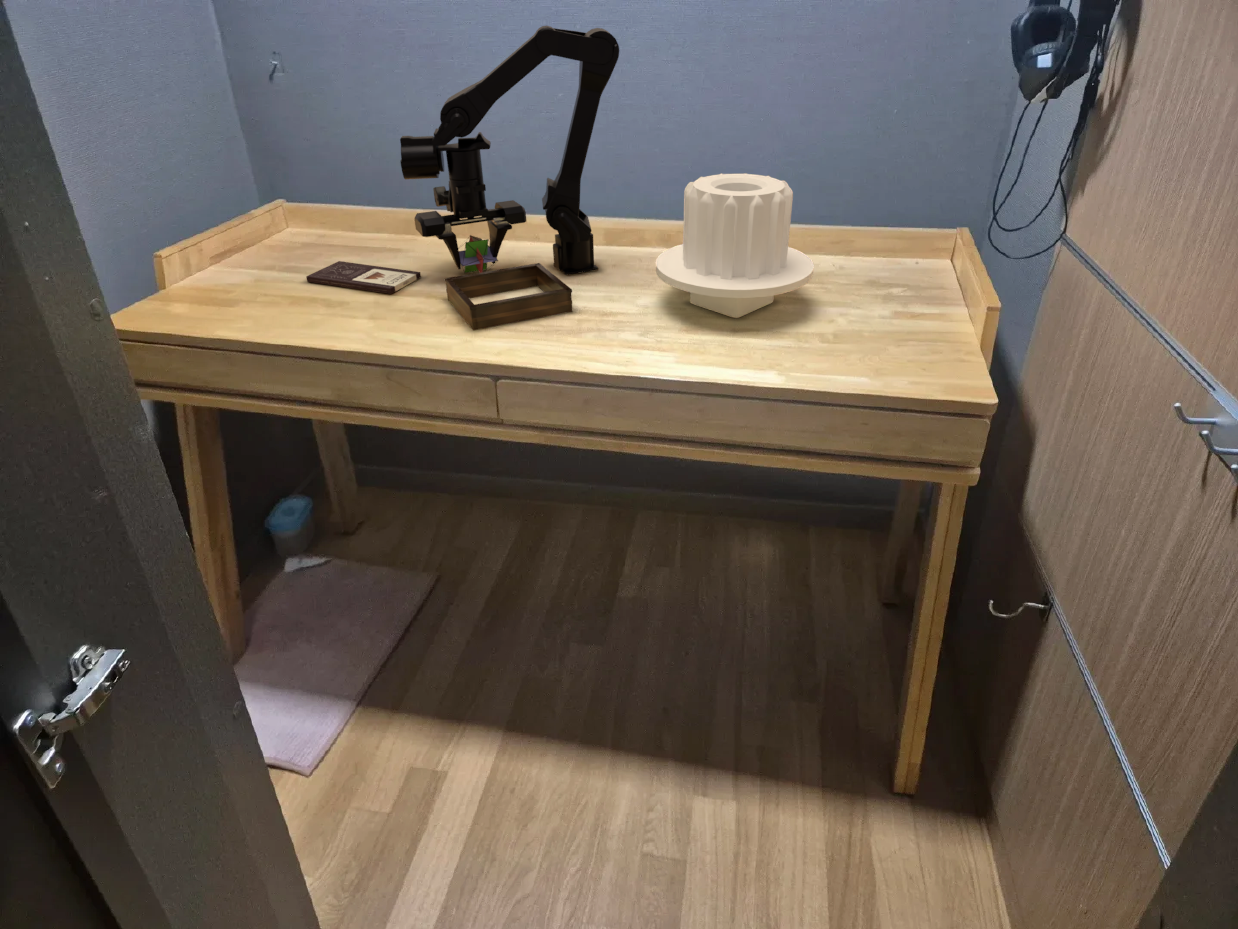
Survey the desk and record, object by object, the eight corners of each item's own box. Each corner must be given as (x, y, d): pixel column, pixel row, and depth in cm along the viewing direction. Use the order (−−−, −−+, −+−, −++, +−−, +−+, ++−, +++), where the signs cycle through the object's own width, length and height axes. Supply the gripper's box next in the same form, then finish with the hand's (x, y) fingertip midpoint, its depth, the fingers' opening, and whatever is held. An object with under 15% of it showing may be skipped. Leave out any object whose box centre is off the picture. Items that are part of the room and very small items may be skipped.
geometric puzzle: (505, 267, 144) (493, 224, 144) (468, 273, 141) (455, 229, 141) (495, 281, 150) (483, 240, 151) (460, 287, 148) (448, 245, 148)
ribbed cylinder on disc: (720, 267, 148) (726, 158, 138) (839, 301, 133) (855, 182, 123) (624, 304, 134) (622, 185, 124) (744, 347, 118) (754, 216, 108)
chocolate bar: (339, 260, 151) (420, 272, 145) (340, 265, 152) (421, 277, 146) (306, 276, 144) (389, 288, 138) (307, 281, 145) (390, 293, 139)
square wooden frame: (540, 283, 143) (539, 262, 141) (573, 311, 131) (572, 289, 129) (447, 299, 137) (444, 278, 135) (472, 330, 125) (470, 307, 123)
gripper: (502, 161, 148) (510, 246, 156) (400, 173, 141) (414, 261, 150) (523, 173, 140) (530, 262, 148) (416, 187, 133) (429, 279, 141)
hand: (476, 265), depth 147 cm, fingers closed on geometric puzzle, 6 cm apart
